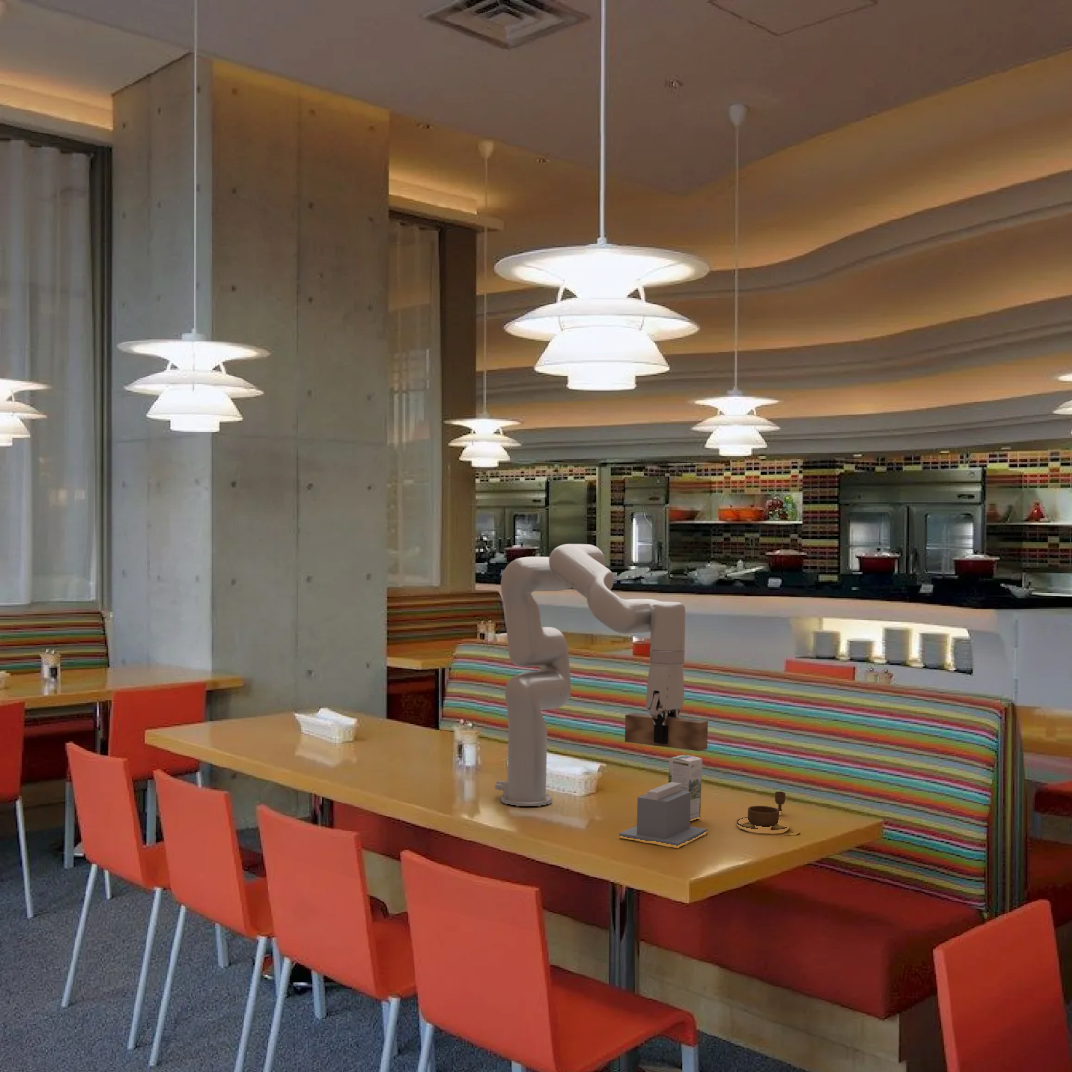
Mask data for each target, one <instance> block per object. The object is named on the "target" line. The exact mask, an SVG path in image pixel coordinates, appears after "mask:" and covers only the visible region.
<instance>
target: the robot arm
mask: <svg viewBox="0 0 1072 1072" xmlns="http://www.w3.org/2000/svg"><path fill="white" fill-rule="evenodd" d="M614 582H615V579H614V574H613V572H612V571H611V569H609V568H607V567H606V558H605V555H604V553H603V552H602V550H601V549H600V548H598V546H595V545H593V544H588V543H587V544H585V543H565V544H561V545H559V546H557V547H555V548H554V549H553V550H551V553H550V554H549V556H525V557H519V558H516V559H514V560H512V561H511V562H509V563H508V564H507V565H506V567H505V568H504V570H503V572H502V575H501V580H500V591H501V596H502V601H503V604H504V605H503V606H504V610H505V622H506V623H505V624H506V637H507V640H506V641H507V649H508V650H507V651H508V657H509V659H510V662H511V663H512V664H513V665H515V666H517V667H523V668H524V667H525V668H526V667H528V668H529V667H539V671H527V672H522V673H521V672H520V673H518V674H515V675H514V676H512V677H511V678H510V679H509V680H508V681H507V683H506V685H505V690H504V697H505V704H506V709H507V710H506V711H507V724H508V727H507V728H508V730H507V732H508V733H507V735H508V736H507V741H508V742H507V743H508V744H507V745H508V746H507V780H506V781H504V780H497V781H496V784H495V786H494V789H495V790H499V791H502V792H503V793H502V795H500V802H501V803H503V804H504V805H507V804H511V805H516V806H515V807H519V806H538V807H542V806H541V805H545V806H547V805H546V804H548V805H551V804H552V802H553V797H552V796H551V795H550V794H547V763H548V762H547V760H548V759H547V755H548V753H547V752H548V728H547V723H546V721H545V719H544V716H543V714H542V711H546V710H553V709H558V708H559V709H560V708H562V707H563V706H565V705H566V704H567V703H568V702H569V699H570V697H571V693H572V692H571V689H572V683H571V669H570V655H569V647H568V643H567V640H566V637H565V636H564V634H563V632H562V631H561V630H559V629H557V627H551V626H542V623H541V620H542V619H541V610H540V608H539V605H538V602H537V601H536V599H535V598H534V596H533V594H532V593H534V592H560V591H567V590H569V589H571V588H572V589H574V591H576V592H577V593H579V594H580V595H581V596H582V597H584V598H585V599H586V602H587V606H588V608H589V610H590V611H589V612H591V614H592V616H594V617H595V618H596V620H598V621H599V622H600V623H602V624H603V625H604V626H606V627H607V628H608V629H611V630H612V631H613V632H616V633H619V634H624V635H627V634H637V633H638V634H639V633H641V634H643V633H650V636H649V637H650V639H649V640H650V642H649V643H650V644H649V645H650V646H649V648H650V649H649V669H648V675H647V684H646V698H645V708H646V710H648V711H649V715H651V716H652V718H653V724H654V743H660V744H667V743H668V725H667V716H668V717H677V718H680V716H679V715H680V711H681V710H682V708H683V705H684V699H685V681H684V680H685V678H684V667H683V666H685V657H686V656H685V654H686V653H685V650H686V649H685V648H686V643H685V642H686V607H685V605H684V604H683V603H682V602H678V601H661V600H657V599H652V598H631V599H629V598H628V599H627V598H625V599H623V598H621V596H620V597H619V596H618V595H617V594H616V593H614V592H613V591H611V590H612V588H613V586H614ZM660 709H661V710H660ZM662 716H663V717H662ZM511 805H510V806H511Z"/></svg>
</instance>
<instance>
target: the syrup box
mask: <svg viewBox="0 0 1072 1072" xmlns="http://www.w3.org/2000/svg"><path fill="white" fill-rule="evenodd" d="M702 773H703V758H701V757H697V756H694V755H687V754H682V755H677V756H673V757H669V758H668V782H667V783H670V782H675V783H681V791H688V792H691V795H690V820H691V819H694V818H697V817H700V818H701V807H702V806H701V804H702V777H703V774H702Z"/></svg>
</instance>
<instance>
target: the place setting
mask: <svg viewBox="0 0 1072 1072" xmlns="http://www.w3.org/2000/svg"><path fill="white" fill-rule="evenodd" d="M774 801H775V803H776V805H777V806H778V807H773V806H769V805H768V806H767V805H754V806H752V805H751V806H749V807H748V808H747V816H746V817H740V818H738V819H736V825H737V824H738V825H740V826H742V827H746V828H751V829H758V828H754V827H750V826H746V825H744V824H743V825H741V824H739V823H738V821H739V820H740V819H743V818H748V820H749V822H750V823H749V824H750V825H752V826H753V825H756V826H762V827H770V826H774V827H775V826H778V825H777V823H778V820H779V819H780V816H779V811H782V812H783V807H782V806H783V805H784V804H785V803H786V792H785V791H775V792H774ZM785 828H787V827H785ZM785 828H784V827H782V828H780V829H785Z"/></svg>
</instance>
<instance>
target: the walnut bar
mask: <svg viewBox="0 0 1072 1072" xmlns="http://www.w3.org/2000/svg"><path fill="white" fill-rule="evenodd" d="M624 716H625V718H624V720H625V721H624V742H625V743H630V744H638V745H647V746H654V747H656V746H657V747H663V748H670V749H678V750H679V749H680V750H687V751H695V752H701V751H704V750H707V749H708V735H709V734H708V733H709V732H708V728H709V726H708V725H709V721H708V720H702V719H693V718H686V717H685V718H684V717H679V718H677V717H668V716H667V725H668V743H667V744H660V743H654V724H653V718H652V716H651V715H650V713H649V714H648V713H638V712H631V713H628V714H625V715H624ZM662 717H663V715H662Z"/></svg>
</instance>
